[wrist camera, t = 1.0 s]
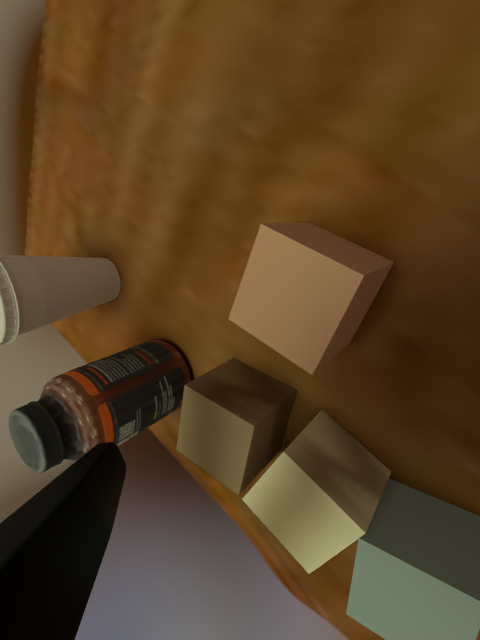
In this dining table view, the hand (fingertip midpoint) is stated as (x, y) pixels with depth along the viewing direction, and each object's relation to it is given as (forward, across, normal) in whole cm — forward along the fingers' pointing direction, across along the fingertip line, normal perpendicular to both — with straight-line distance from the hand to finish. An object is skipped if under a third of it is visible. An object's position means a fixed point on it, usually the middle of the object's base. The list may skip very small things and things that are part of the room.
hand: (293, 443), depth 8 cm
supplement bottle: (+17, +11, +9) cm, 22 cm away
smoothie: (+22, +16, +2) cm, 27 cm away
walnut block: (+13, +3, +10) cm, 17 cm away
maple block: (+10, -1, +12) cm, 16 cm away
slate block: (+7, -6, +14) cm, 17 cm away
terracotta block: (+13, -2, +1) cm, 13 cm away
